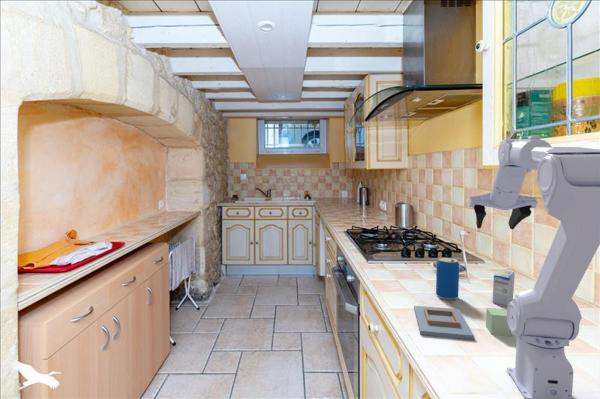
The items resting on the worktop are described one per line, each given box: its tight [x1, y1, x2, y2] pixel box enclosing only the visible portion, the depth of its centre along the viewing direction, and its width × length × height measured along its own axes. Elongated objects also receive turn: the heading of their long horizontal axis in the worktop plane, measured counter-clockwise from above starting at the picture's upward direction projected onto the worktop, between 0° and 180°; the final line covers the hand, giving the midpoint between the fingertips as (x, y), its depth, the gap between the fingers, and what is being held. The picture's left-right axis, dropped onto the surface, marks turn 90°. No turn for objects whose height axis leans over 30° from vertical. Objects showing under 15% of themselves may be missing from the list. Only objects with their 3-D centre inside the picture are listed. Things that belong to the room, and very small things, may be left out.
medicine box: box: [492, 269, 515, 307], centre depth 105 cm, size 8×4×9 cm, turn 141°
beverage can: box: [435, 256, 460, 301], centre depth 108 cm, size 6×6×12 cm
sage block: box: [485, 307, 512, 337], centre depth 85 cm, size 4×4×5 cm
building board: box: [413, 305, 475, 341], centre depth 90 cm, size 16×12×2 cm
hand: (494, 226), depth 89 cm, fingers open, 7 cm apart
